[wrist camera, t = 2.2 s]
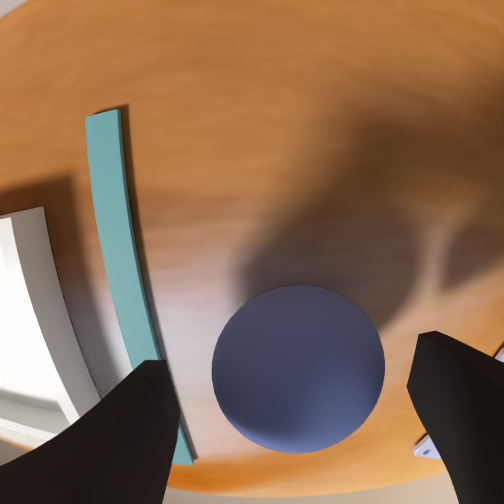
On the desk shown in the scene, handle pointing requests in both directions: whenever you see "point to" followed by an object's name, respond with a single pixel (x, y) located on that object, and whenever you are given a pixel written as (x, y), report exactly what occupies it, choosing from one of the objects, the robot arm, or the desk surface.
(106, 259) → the teal line
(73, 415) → the tray
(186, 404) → the desk surface
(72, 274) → the desk surface
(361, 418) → the ball
